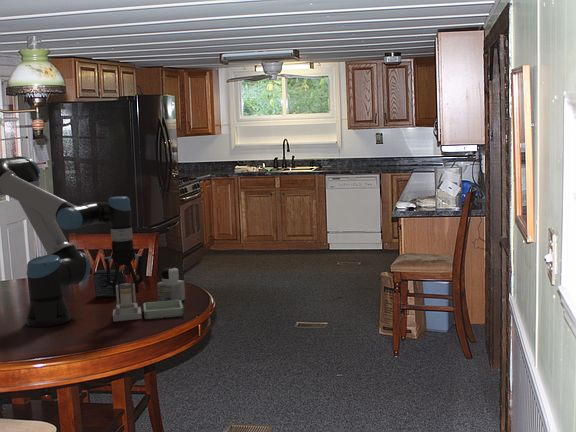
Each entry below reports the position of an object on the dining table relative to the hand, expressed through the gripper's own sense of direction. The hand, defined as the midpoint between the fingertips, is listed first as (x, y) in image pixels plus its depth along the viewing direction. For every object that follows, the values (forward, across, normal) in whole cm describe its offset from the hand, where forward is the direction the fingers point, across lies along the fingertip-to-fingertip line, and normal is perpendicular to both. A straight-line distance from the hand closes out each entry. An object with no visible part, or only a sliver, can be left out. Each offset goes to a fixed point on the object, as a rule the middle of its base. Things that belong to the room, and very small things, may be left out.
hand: (126, 302), depth 281 cm
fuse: (+3, 0, 0) cm, 3 cm away
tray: (+5, +13, +1) cm, 14 cm away
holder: (+5, 0, 0) cm, 5 cm away
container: (+5, +17, +19) cm, 26 cm away
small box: (+6, -7, +38) cm, 39 cm away
